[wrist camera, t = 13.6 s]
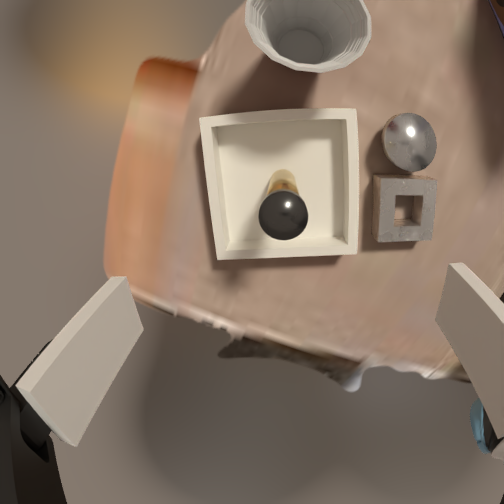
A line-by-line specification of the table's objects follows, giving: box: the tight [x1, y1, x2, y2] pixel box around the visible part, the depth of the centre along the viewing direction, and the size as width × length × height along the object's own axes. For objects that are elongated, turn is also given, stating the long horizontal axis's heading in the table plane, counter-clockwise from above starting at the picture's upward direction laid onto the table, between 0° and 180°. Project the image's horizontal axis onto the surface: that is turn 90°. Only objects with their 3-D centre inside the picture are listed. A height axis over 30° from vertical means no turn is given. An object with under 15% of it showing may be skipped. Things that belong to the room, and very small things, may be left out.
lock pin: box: [258, 169, 308, 240], centre depth 27 cm, size 4×4×14 cm
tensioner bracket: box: [371, 113, 437, 242], centre depth 31 cm, size 16×8×4 cm, turn 5°
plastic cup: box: [245, 0, 371, 73], centre depth 22 cm, size 11×11×12 cm
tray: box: [199, 108, 359, 260], centre depth 33 cm, size 17×17×4 cm
